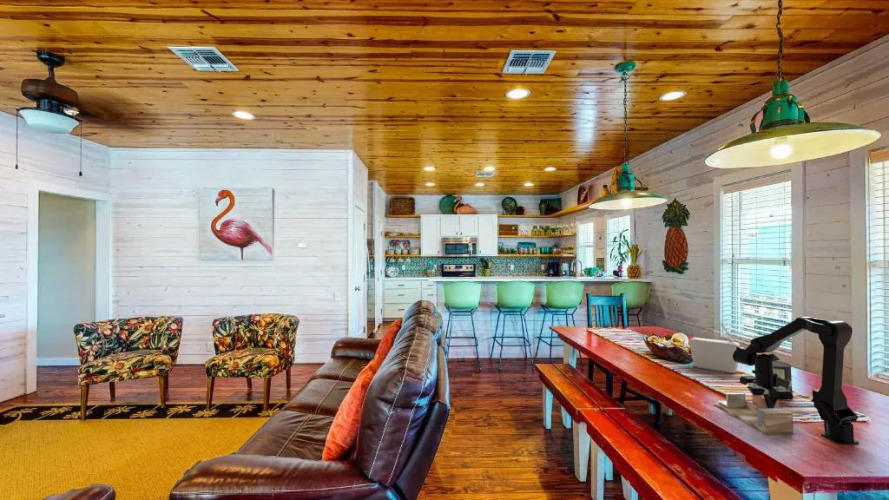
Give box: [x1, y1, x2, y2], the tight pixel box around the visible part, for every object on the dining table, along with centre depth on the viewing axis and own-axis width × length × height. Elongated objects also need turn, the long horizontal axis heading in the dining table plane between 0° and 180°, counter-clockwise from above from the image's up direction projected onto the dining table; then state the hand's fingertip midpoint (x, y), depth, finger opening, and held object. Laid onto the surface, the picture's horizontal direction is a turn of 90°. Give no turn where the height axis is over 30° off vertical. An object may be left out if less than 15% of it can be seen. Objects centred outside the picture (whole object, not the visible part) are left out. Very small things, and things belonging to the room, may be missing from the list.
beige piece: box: [714, 400, 795, 436], centre depth 142 cm, size 26×9×8 cm, turn 179°
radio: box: [688, 322, 741, 374], centre depth 200 cm, size 22×8×25 cm, turn 43°
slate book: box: [758, 408, 781, 427], centre depth 132 cm, size 3×7×6 cm, turn 89°
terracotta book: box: [751, 394, 780, 409], centre depth 146 cm, size 4×7×6 cm, turn 89°
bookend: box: [717, 392, 747, 408], centre depth 151 cm, size 6×7×6 cm
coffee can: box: [764, 360, 793, 401], centre depth 162 cm, size 10×10×14 cm
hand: (765, 408), depth 146 cm, fingers closed on terracotta book, 4 cm apart
